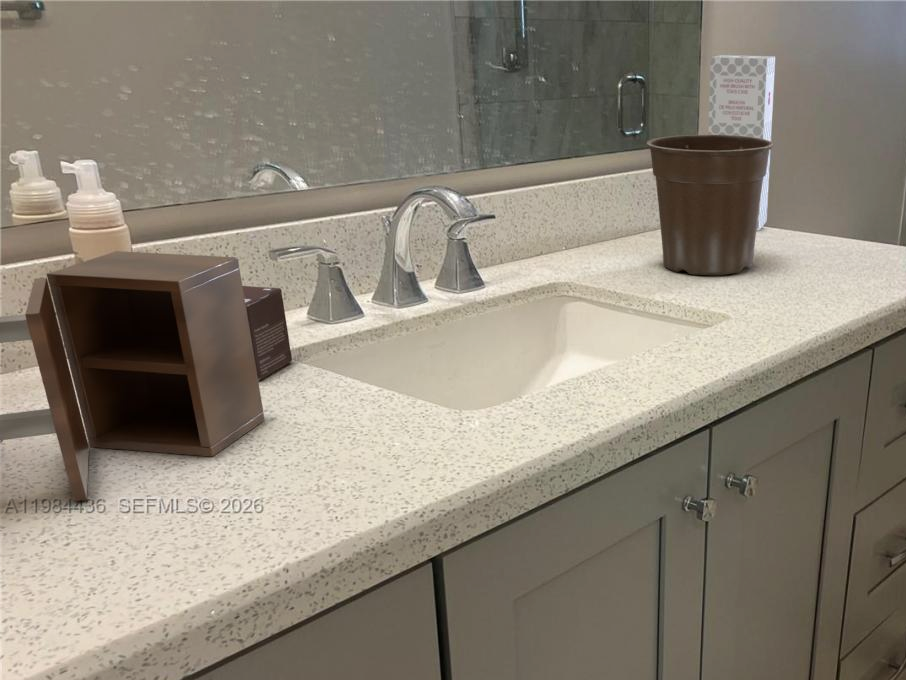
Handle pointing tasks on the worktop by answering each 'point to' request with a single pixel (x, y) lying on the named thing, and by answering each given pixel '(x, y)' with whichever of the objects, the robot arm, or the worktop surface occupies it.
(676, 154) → the plant pot
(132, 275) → the cabinet
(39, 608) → the worktop surface
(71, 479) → the door
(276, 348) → the box
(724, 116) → the box
